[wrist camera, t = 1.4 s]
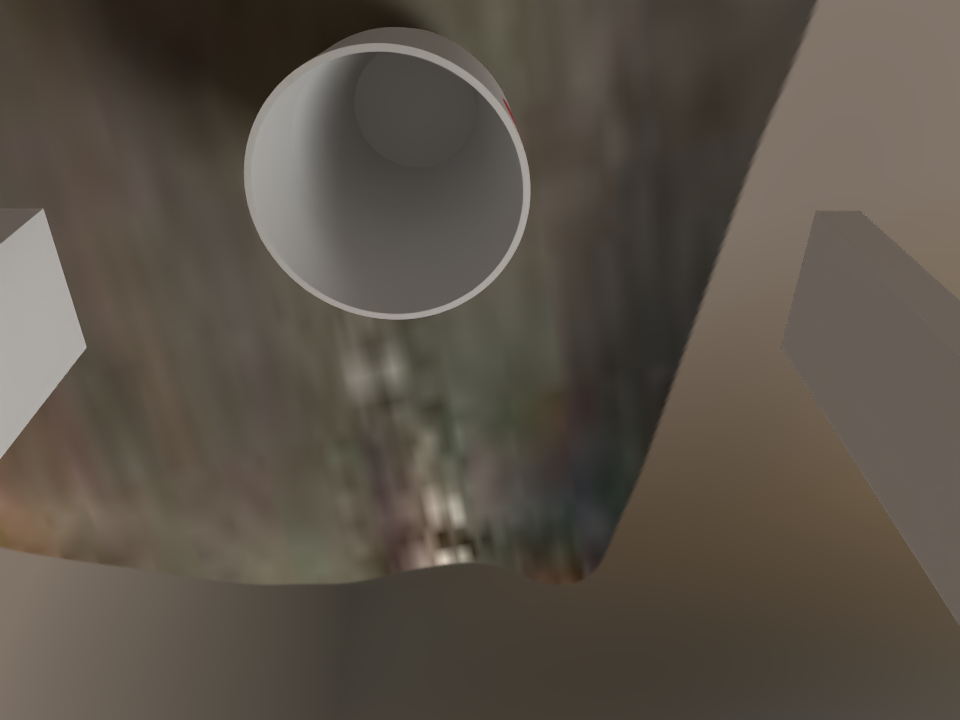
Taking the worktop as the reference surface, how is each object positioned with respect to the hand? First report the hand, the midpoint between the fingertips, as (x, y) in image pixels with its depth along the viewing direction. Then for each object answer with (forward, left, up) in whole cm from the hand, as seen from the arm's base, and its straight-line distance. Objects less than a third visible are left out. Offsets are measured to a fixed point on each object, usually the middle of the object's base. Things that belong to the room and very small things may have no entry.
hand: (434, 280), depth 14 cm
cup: (-2, -2, -19) cm, 19 cm away
